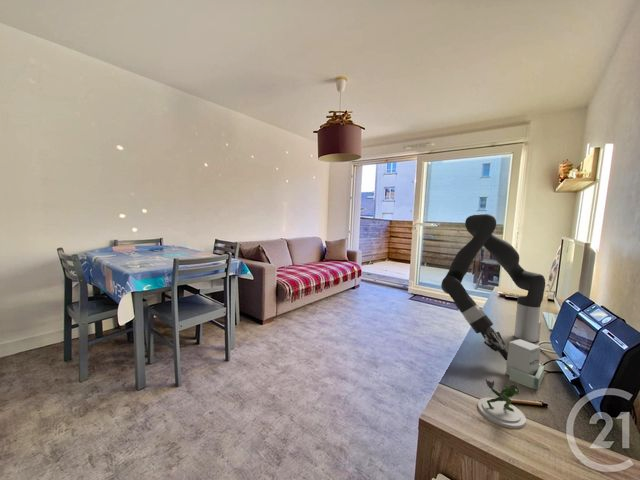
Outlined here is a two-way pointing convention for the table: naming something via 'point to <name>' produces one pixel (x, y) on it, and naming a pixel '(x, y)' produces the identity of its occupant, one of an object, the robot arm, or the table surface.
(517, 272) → the robot arm
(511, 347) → the supplement box
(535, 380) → the holder
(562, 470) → the table surface
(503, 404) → the monster figurine
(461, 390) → the table surface
